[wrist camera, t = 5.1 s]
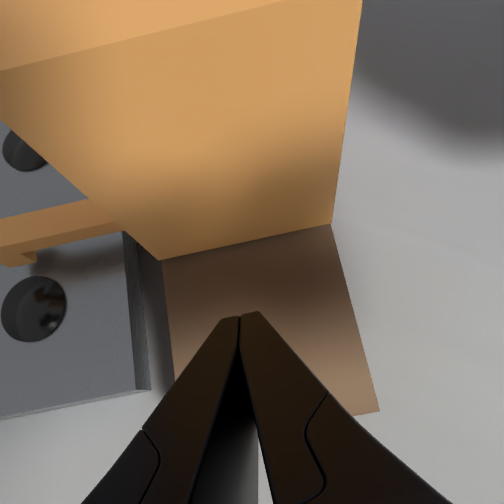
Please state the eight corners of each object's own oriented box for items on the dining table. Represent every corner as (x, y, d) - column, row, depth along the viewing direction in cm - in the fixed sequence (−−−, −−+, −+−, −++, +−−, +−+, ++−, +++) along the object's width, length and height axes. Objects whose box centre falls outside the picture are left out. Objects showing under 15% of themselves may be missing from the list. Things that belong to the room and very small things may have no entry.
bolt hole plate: (151, 390, 16) (134, 389, 14) (-30, 425, 16) (-65, 429, 15) (110, -11, 22) (96, -41, 21) (-17, 21, 23) (-41, -5, 21)
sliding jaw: (331, 225, 15) (365, -20, 6) (10, 294, 15) (-381, 164, 7) (311, 149, 16) (316, -155, 7) (10, 217, 16) (-329, 17, 8)
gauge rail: (385, 406, 15) (650, 449, 3) (48, 470, 15) (-688, 687, 4) (266, -36, 21) (220, -513, 10) (37, 22, 22) (-245, -365, 11)
